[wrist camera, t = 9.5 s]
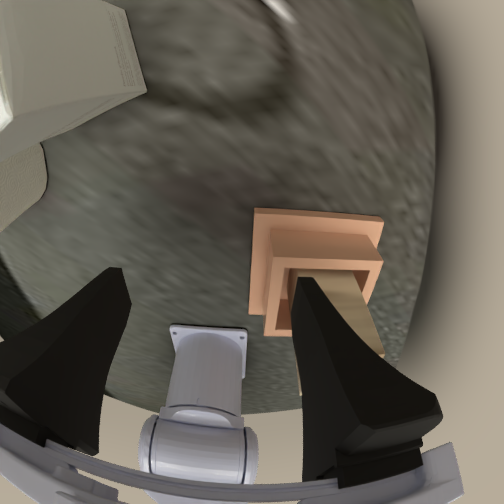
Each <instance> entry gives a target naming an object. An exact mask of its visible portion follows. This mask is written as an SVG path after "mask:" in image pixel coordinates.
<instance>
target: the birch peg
mask: <svg viewBox="0 0 504 504" xmlns="http://www.w3.org/2000/svg"><path fill="white" fill-rule="evenodd" d="M298 277H313V278H314V279H315V280H316V282H317V283H318V285H319V286H320V288H321V289H322V290H323V292H324V293H325V295H326V296H327V297H328V299H329V300H330V302H331V303H332V304H333V306H334V307H335V308H336V309H337V311H338V312H339V313H340V315H341V316H342V317H343V318H344V320H345V321H346V322H347V323H348V324H349V326H350V327H351V328H352V329H353V330H354V331H355V332H356V334H357V335H358V336H359V337H360V338H361V339H362V340H363V341H364V342H365V343H366V344H367V345H368V346H369V347H370V348H371V349H372V350H373V351H375V352H376V353H377V354H378V355H379V356H380V357H381V358H383V357H384V355H385V352H384V349H383V346H382V344H381V341H380V338H379V335H378V333H377V330H376V328H375V325H374V322H373V320H372V317H371V315H370V312H369V310H368V307H367V305H366V303H365V300H364V298H363V295H362V293H361V291H360V288H359V286H358V284H357V281H356V279H355V277H354V274H353V272H352V270H337V269H305V268H290V269H289V275H288V282H287V296H288V303H289V310H290V318H291V309H292V304H293V299H294V294H295V289H296V283H297V278H298ZM294 350H295V349H294ZM295 358H296V355H295ZM296 366H297V360H296ZM297 375H298V384H299V393H300V395H302V391H301V383H300V377H299V371H298V366H297Z"/></svg>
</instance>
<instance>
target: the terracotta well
mask: <svg viewBox="0 0 504 504" xmlns="http://www.w3.org/2000/svg"><path fill="white" fill-rule="evenodd" d="M383 225H384V222H383V220H382V219H381V218H380V217H379V216H368V215H358V214H346V213H334V212H321V211H307V210H291V209H274V208H254V223H253V241H252V258H251V276H250V294H249V314H256V315H263V324H264V336H292V328H291V318H290V310H289V303H288V296H287V282H288V275H289V269H290V268H305V269H337V270H352V272H353V274H354V277H355V279H356V281H357V284H358V286H359V288H360V291H361V293H362V295H363V298H364V300H365V303H366V305H367V303H368V301H369V298H370V296H371V293H372V291H373V288H374V286H375V283H376V280H377V278H378V275H379V272H380V270H381V267H382V264H383V259H382V258H381V256H380V254H379V253H378V251H377V250H376V248H377V245H378V242H379V238H380V235H381V232H382V228H383Z"/></svg>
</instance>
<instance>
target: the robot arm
mask: <svg viewBox="0 0 504 504" xmlns="http://www.w3.org/2000/svg"><path fill="white" fill-rule="evenodd" d="M131 305H132V303H131V300H130V296H129V293H128V290H127V286H126V283H125V279H124V276H123V272H122V268H114V267H109V268H107V269H106V270H104V271H103V272H102V273H101V274H99V275H98V276H97V277H96V278H94V279H93V280H92V281H91V282H89V283H88V284H87V285H86V286H85V287H83V288H82V289H81V290H80V291H79V292H77V293H76V294H75V295H74V296H73V297H71V298H70V299H69V300H68V301H66V302H65V303H64V304H62V305H61V306H60V307H59V308H57V309H56V310H55V311H53V312H52V313H51V314H49V315H48V316H46V317H45V318H43V319H42V320H41V321H39V322H37V323H36V324H34V325H33V326H31V327H29V328H27V329H26V330H24V331H22V332H21V333H19V334H17V335H15V336H13V337H11V338H9V339H7V340H5V341H3V342H0V474H1V475H2V476H3V477H4V478H5V479H6V480H8V481H9V482H10V483H11V484H13V485H14V486H15V487H17V488H18V489H19V490H20V491H22V492H23V493H24V494H26V495H27V496H28V497H30V498H31V499H32V500H34V501H35V502H37V503H39V504H128V503H125V502H121V501H118V499H117V497H118V490H117V489H115V488H112V487H109V486H107V485H104V484H102V483H100V482H98V481H96V480H93V479H91V478H88V477H86V476H83V475H81V474H79V473H78V471H77V470H76V468H77V469H80V470H82V471H85V472H87V473H90V474H93V475H96V476H99V477H102V478H105V479H108V480H111V481H114V482H117V483H121V484H124V485H128V486H131V487H136V488H139V489H143V491H144V492H145V493H146V494H148V495H149V496H150V497H151V498H152V499H153V500H154V501H156V502H157V503H158V504H247V503H249V502H283V501H296V500H297V501H298V500H301V501H299V502H298V503H297V504H449V503H451V502H452V501H454V500H456V499H458V498H459V497H461V496H463V495H464V491H463V485H462V480H461V476H460V471H459V467H458V463H457V459H456V455H455V452H454V448H453V445H452V442H449V443H446V444H444V445H441V446H439V447H436V448H434V449H431V450H428V451H426V452H424V453H422V454H421V452H420V447H422V446H423V442H422V438H421V437H422V436H424V435H425V434H427V433H428V432H429V431H431V430H432V429H433V428H435V427H436V426H437V425H438V424H439V423H440V422H441V421H442V419H443V414H442V411H441V408H440V405H439V402H438V400H437V397H436V395H435V394H434V393H432V392H430V391H429V390H427V389H425V388H424V387H422V386H420V385H419V384H417V383H415V382H413V381H412V380H411V379H409V378H408V377H406V376H405V375H403V374H402V373H400V372H399V371H398V370H396V369H395V368H394V367H392V366H391V365H390V364H389V363H387V362H386V361H385V360H384V359H383V358H381V357H380V356H379V355H378V354H377V353H376V352H375V351H373V350H372V349H371V348H370V347H369V346H368V345H367V344H366V343H365V342H364V341H363V340H362V339H361V338H360V337H359V336H358V335H357V334H356V332H355V331H354V330H353V329H352V328H351V327H350V326H349V324H348V323H347V322H346V321H345V320H344V318H343V317H342V316H341V315H340V313H339V312H338V311H337V309H336V308H335V307H334V306H333V304H332V303H331V302H330V300H329V299H328V297H327V296H326V295H325V293H324V292H323V290H322V289H321V288H320V286H319V285H318V283H317V282H316V280H315V279H314V278H313V277H298V278H297V283H296V289H295V294H294V299H293V304H292V309H291V328H292V338H293V344H294V349H295V355H296V360H297V366H298V371H299V377H300V383H301V391H302V409H303V471H302V482H299V483H284V484H253V483H254V481H255V478H256V474H257V468H258V440H257V435H256V434H255V433H254V431H252V429H251V428H250V427H244V418H243V417H241V388H242V379H243V378H245V367H246V349H247V331H246V330H245V329H230V328H212V327H197V326H184V325H171V326H170V333H171V337H172V341H173V345H174V349H175V352H176V356H175V361H174V366H173V370H172V375H171V380H170V385H169V390H168V395H167V400H166V405H165V407H161V409H160V414H159V416H158V415H152V416H151V417H150V418H148V419H147V420H146V421H145V423H144V425H143V427H142V431H141V434H140V440H139V447H138V448H139V449H138V459H139V460H138V461H139V466H140V471H138V470H134V469H130V468H126V467H123V466H119V465H116V464H112V463H109V462H106V461H102V460H99V459H96V458H93V457H90V456H94V455H96V454H98V453H99V425H100V414H101V407H102V401H103V395H104V389H105V385H106V380H107V376H108V372H109V369H110V366H111V363H112V360H113V358H114V355H115V352H116V350H117V347H118V345H119V342H120V339H121V337H122V334H123V332H124V329H125V327H126V324H127V320H128V317H129V313H130V309H131ZM242 336H243V337H242ZM69 448H71V449H69ZM72 449H73V450H72ZM74 450H77V451H79V452H77V451H74ZM80 452H82V453H85V454H88V455H90V456H88V455H85V454H82V453H80Z"/></svg>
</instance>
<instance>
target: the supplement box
mask: <svg viewBox="0 0 504 504" xmlns="http://www.w3.org/2000/svg"><path fill="white" fill-rule="evenodd" d="M146 92H147V89H146V85H145V82H144V78H143V75H142V71H141V68H140V65H139V61H138V57H137V54H136V50H135V46H134V43H133V39H132V35H131V31H130V28H129V24H128V20H127V17H126V13H125V10H123V9H121V8H119V7H116V6H114V5H112V4H110V3H107V2H104V1H102V0H0V162H2V161H3V160H5V159H7V158H9V157H11V156H13V155H15V154H17V153H19V152H21V151H23V150H25V149H27V148H29V147H31V146H33V145H35V144H37V143H40V142H42V141H44V140H46V139H49V138H51V137H54V136H56V135H59V134H61V133H64V132H67V131H69V130H72V129H74V128H76V127H77V126H79V125H81V124H83V123H85V122H87V121H88V120H90V119H92V118H94V117H96V116H98V115H100V114H102V113H104V112H106V111H108V110H109V109H111V108H113V107H115V106H118V105H120V104H122V103H124V102H126V101H128V100H130V99H133V98H135V97H137V96H139V95H141V94H144V93H146Z"/></svg>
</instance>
